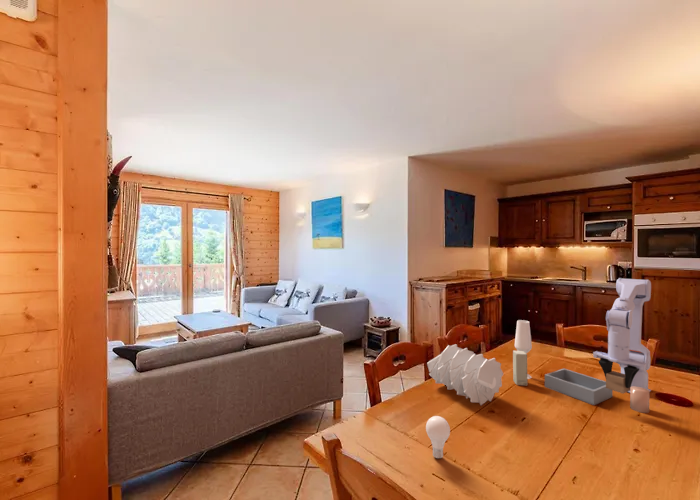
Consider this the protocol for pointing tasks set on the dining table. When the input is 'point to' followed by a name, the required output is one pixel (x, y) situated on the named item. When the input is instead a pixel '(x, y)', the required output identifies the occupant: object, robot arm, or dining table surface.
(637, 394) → the peach capsule
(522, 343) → the champagne flute
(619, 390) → the walnut cube
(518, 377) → the box
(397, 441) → the dining table surface
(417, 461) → the dining table surface
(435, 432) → the lightbulb
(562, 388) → the tote
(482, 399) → the spiral staircase
